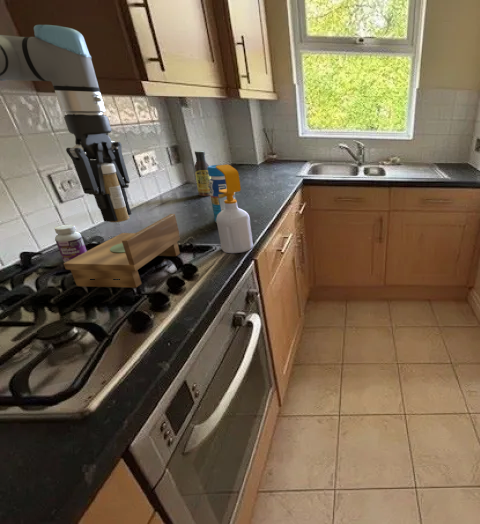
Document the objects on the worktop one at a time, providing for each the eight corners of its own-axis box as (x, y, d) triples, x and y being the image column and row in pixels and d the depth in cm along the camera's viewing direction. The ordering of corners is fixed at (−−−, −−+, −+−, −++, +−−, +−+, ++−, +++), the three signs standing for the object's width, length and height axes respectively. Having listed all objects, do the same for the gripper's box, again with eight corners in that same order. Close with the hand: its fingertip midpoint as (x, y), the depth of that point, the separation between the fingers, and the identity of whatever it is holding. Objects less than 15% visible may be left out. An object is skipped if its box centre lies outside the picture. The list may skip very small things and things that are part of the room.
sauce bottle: (199, 197, 153) (190, 152, 144) (198, 194, 157) (189, 150, 149) (214, 195, 156) (207, 151, 147) (213, 192, 160) (205, 150, 152)
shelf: (72, 286, 78) (53, 239, 73) (128, 252, 96) (115, 212, 91) (141, 287, 78) (127, 240, 73) (184, 253, 96) (174, 214, 91)
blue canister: (218, 217, 127) (209, 164, 118) (241, 217, 128) (233, 164, 119) (211, 224, 119) (200, 168, 111) (235, 224, 120) (226, 168, 111)
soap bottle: (241, 240, 107) (229, 161, 96) (259, 247, 102) (249, 165, 91) (215, 248, 100) (200, 165, 89) (233, 256, 95) (219, 169, 85)
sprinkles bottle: (103, 221, 80) (84, 164, 75) (122, 216, 84) (105, 161, 78) (116, 224, 79) (97, 166, 73) (134, 218, 83) (118, 163, 77)
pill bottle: (64, 266, 87) (50, 231, 83) (63, 259, 91) (50, 226, 87) (90, 260, 90) (78, 227, 86) (88, 254, 94) (76, 222, 90)
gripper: (69, 115, 63) (108, 230, 73) (129, 113, 79) (154, 207, 89) (30, 114, 63) (74, 229, 73) (97, 112, 79) (126, 207, 89)
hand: (118, 217), depth 81 cm, fingers closed on sprinkles bottle, 4 cm apart
